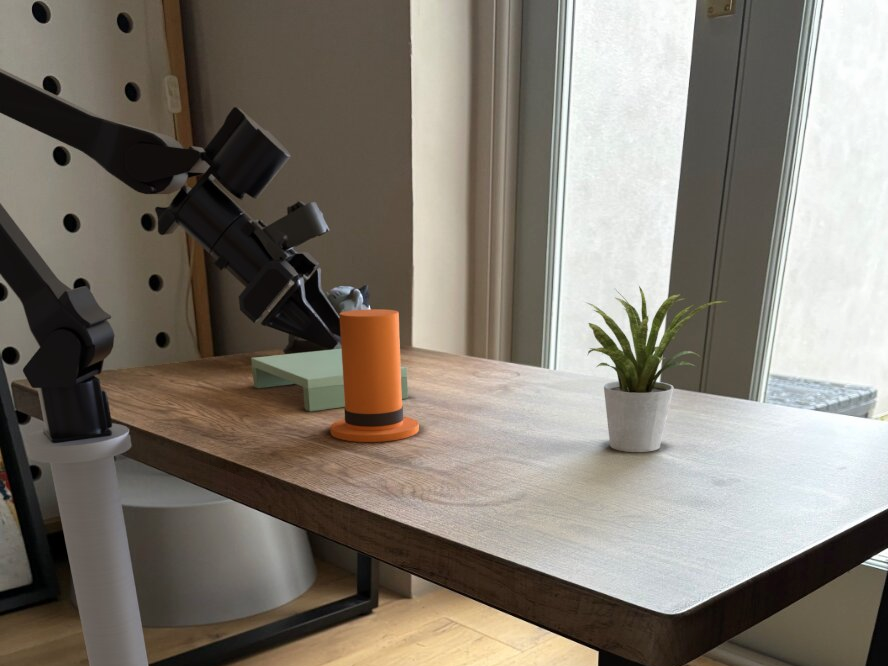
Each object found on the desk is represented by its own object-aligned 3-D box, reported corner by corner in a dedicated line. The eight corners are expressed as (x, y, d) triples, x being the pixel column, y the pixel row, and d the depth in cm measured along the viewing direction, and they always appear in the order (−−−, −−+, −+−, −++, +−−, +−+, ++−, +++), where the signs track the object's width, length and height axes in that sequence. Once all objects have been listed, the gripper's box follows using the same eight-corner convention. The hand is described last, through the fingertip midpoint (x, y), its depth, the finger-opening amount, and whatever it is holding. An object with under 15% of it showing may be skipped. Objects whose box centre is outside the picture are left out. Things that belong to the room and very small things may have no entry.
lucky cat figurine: (278, 356, 154) (303, 276, 154) (346, 382, 158) (371, 304, 158) (289, 342, 140) (316, 253, 140) (363, 370, 143) (390, 284, 143)
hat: (354, 446, 99) (346, 321, 94) (316, 428, 107) (307, 311, 102) (434, 433, 104) (431, 313, 99) (393, 417, 112) (388, 305, 107)
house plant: (704, 429, 104) (718, 275, 97) (727, 462, 91) (745, 288, 85) (575, 429, 105) (581, 276, 98) (581, 461, 92) (588, 289, 86)
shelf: (309, 411, 116) (307, 379, 114) (253, 386, 131) (250, 357, 130) (408, 398, 122) (407, 367, 121) (343, 376, 138) (341, 348, 136)
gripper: (259, 171, 86) (383, 292, 91) (292, 174, 103) (395, 276, 108) (186, 262, 90) (309, 376, 94) (230, 251, 107) (333, 347, 111)
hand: (340, 339), depth 102 cm, fingers open, 9 cm apart
